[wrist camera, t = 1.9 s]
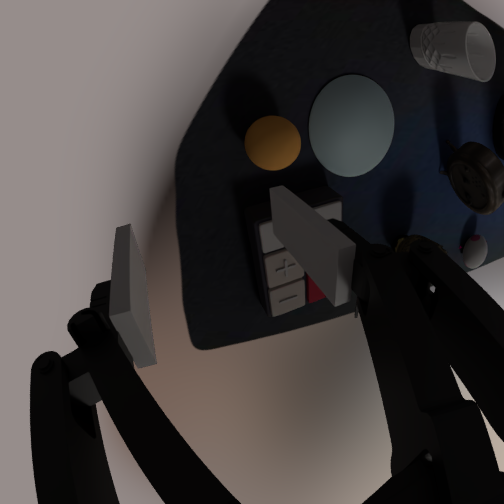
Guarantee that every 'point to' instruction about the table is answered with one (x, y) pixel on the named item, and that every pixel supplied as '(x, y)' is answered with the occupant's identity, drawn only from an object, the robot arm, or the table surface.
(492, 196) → the alarm clock
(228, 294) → the table surface
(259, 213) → the calculator
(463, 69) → the white cup
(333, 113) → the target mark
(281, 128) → the ball
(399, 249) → the dark brown rounded lump
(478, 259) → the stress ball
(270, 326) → the table surface
